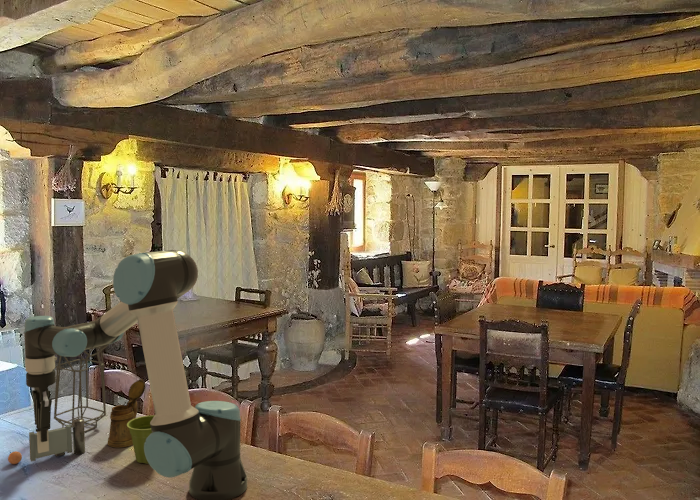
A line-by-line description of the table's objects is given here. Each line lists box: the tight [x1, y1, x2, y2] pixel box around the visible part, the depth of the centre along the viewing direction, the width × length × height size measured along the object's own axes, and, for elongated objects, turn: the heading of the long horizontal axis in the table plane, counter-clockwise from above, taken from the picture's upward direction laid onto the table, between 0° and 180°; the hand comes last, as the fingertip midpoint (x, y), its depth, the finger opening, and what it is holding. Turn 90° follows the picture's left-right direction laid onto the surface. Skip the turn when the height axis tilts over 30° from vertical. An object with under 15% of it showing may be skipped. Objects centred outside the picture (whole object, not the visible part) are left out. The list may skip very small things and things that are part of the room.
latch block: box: [54, 452, 66, 458], centre depth 183 cm, size 2×2×6 cm
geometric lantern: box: [53, 344, 110, 435], centre depth 202 cm, size 16×16×35 cm
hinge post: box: [72, 418, 86, 456], centre depth 184 cm, size 3×3×10 cm
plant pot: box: [127, 414, 155, 465], centre depth 180 cm, size 12×12×11 cm
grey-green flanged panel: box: [28, 424, 73, 462], centre depth 180 cm, size 11×2×8 cm, turn 127°
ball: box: [7, 451, 23, 465], centre depth 177 cm, size 4×4×4 cm
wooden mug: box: [107, 378, 146, 449], centre depth 194 cm, size 9×14×18 cm, turn 155°
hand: (43, 451), depth 176 cm, fingers closed
